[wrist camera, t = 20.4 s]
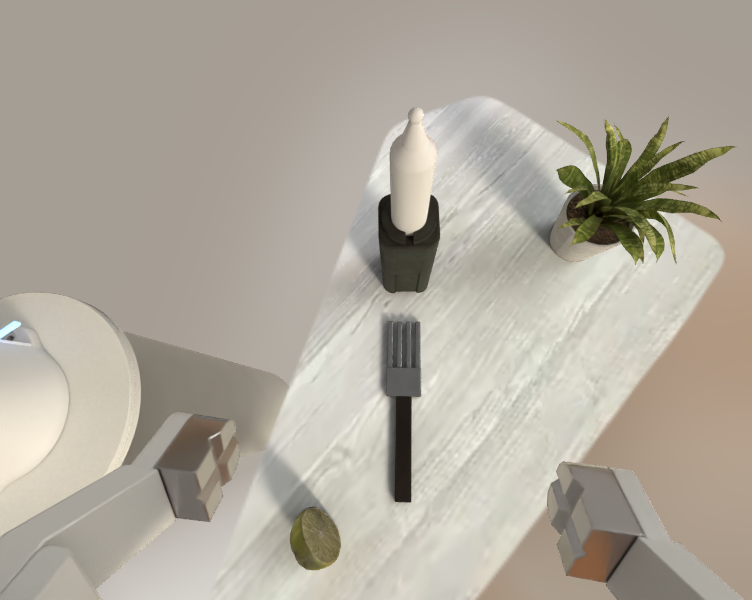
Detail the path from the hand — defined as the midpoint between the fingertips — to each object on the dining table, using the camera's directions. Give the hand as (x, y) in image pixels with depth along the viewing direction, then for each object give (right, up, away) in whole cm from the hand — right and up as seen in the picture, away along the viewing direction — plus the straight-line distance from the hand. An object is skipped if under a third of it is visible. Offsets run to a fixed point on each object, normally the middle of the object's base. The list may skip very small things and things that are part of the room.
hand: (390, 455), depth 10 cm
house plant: (+21, +11, +35) cm, 42 cm away
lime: (-6, -19, +28) cm, 34 cm away
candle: (+3, +7, +35) cm, 36 cm away
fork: (+3, -7, +30) cm, 31 cm away
